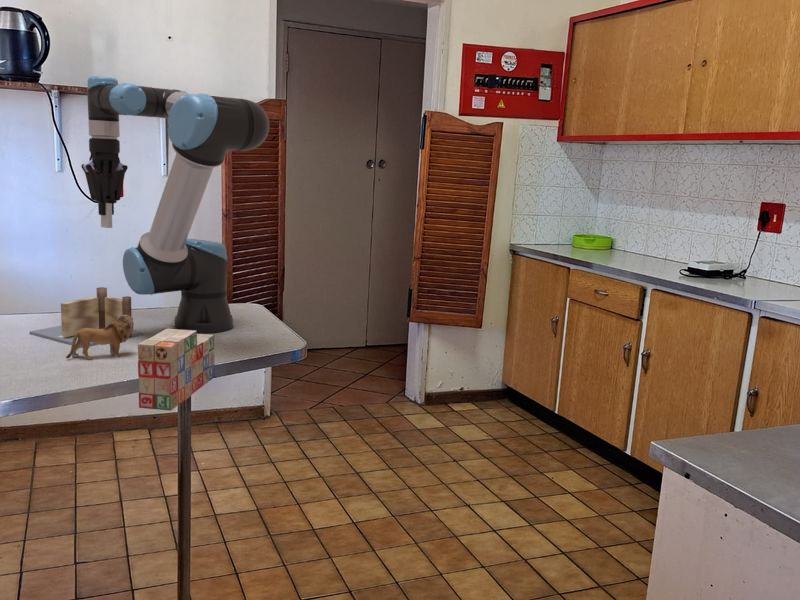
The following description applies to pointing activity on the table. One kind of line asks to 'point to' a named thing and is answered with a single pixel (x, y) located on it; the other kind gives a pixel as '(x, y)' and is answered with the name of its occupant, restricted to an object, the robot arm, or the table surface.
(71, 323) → the hinged fence panel
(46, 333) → the card
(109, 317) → the fence post and fixed section
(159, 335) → the stack of blocks
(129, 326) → the lion figurine
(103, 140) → the robot arm
